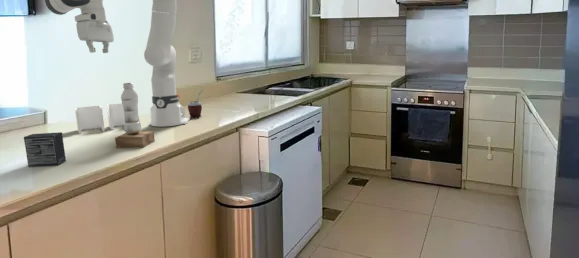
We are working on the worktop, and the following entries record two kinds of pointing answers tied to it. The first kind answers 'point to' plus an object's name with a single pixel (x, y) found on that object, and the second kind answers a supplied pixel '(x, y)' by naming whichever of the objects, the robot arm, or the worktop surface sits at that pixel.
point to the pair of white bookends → (99, 117)
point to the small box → (44, 149)
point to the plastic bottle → (130, 109)
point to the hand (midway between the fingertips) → (99, 52)
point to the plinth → (135, 140)
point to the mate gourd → (195, 108)
